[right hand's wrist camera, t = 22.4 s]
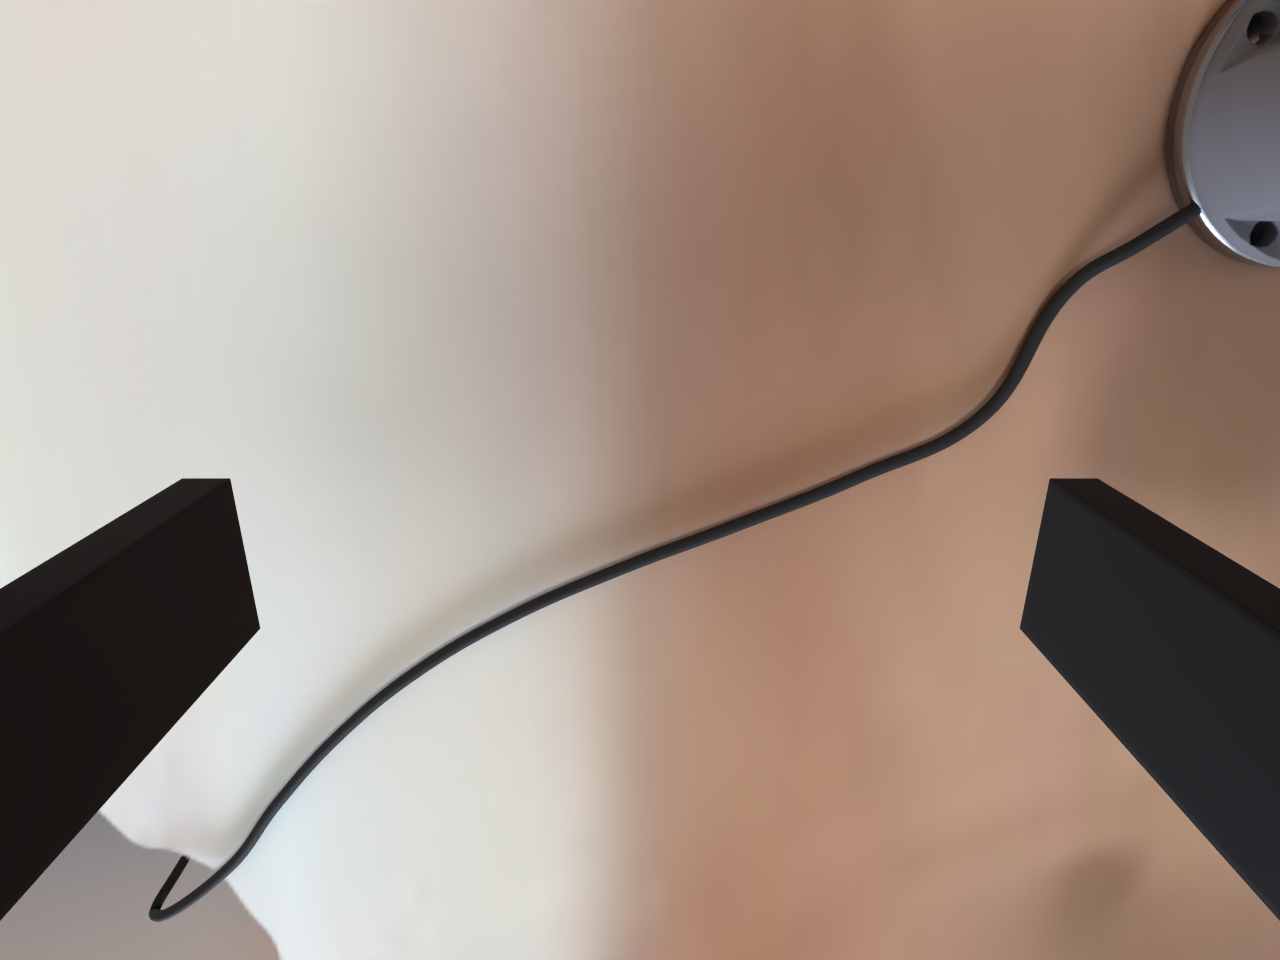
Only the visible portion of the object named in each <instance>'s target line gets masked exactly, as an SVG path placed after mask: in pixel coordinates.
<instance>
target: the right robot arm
mask: <svg viewBox="0 0 1280 960" xmlns="http://www.w3.org/2000/svg"><path fill="white" fill-rule="evenodd" d="M1166 162H1167V172H1168V177H1169V182H1170V186H1171V189H1172V192H1173V195H1174V199H1175V201H1176V203H1177V205H1178V207H1179V211H1178V212H1176V213H1174V214H1173V215H1171V216H1170V217H1168V218H1166V219H1165V220H1163V221H1162V222H1160V223H1158V224H1157V225H1155V226H1154V227H1152V228H1150V229H1149V230H1147V231H1146V232H1144V233H1142V234H1141V235H1139V236H1137V237H1136V238H1134V239H1133V240H1131V241H1129V242H1127V243H1126V244H1124V245H1122V246H1120V247H1118V248H1116V249H1114V250H1112V251H1110V252H1108V253H1106V254H1105V255H1103V256H1101V257H1099V258H1097V259H1095V260H1094V261H1092V262H1090V263H1089V264H1087V265H1086V266H1084V267H1083V268H1081V269H1080V270H1079V271H1078V272H1076V273H1075V274H1074V275H1073V276H1072V277H1071V278H1069V280H1068V281H1067V282H1066V283H1065V284H1064V285H1063V286H1062V287H1061V288H1060V289H1059V290H1058V291H1057V292H1056V293H1055V295H1054V296H1053V297H1052V298H1051V300H1050V301H1049V302H1048V303H1047V305H1046V306H1045V308H1044V309H1043V311H1042V312H1041V314H1040V315H1039V317H1038V319H1037V320H1036V322H1035V324H1034V325H1033V327H1032V329H1031V331H1030V333H1029V335H1028V337H1027V339H1026V341H1025V343H1024V345H1023V347H1022V349H1021V351H1020V353H1019V355H1018V357H1017V359H1016V361H1015V363H1014V365H1013V366H1012V368H1011V370H1010V372H1009V374H1008V375H1007V377H1006V379H1005V380H1004V382H1003V383H1002V385H1001V386H1000V388H999V389H998V390H997V392H996V393H995V394H994V395H993V396H992V398H991V399H990V400H989V401H988V402H987V403H986V404H985V405H984V406H983V407H982V408H981V409H980V410H979V411H978V412H976V413H975V414H974V415H973V416H971V417H970V418H969V419H968V420H966V421H965V422H963V423H962V424H961V425H959V426H958V427H956V428H955V429H953V430H951V431H950V432H948V433H946V434H944V435H943V436H941V437H939V438H937V439H935V440H933V441H931V442H928V443H926V444H924V445H921V446H919V447H916V448H914V449H911V450H909V451H906V452H903V453H901V454H898V455H895V456H893V457H890V458H887V459H885V460H882V461H880V462H877V463H875V464H872V465H869V466H867V467H865V468H862V469H860V470H858V471H856V472H853V473H851V474H849V475H846V476H844V477H842V478H839V479H837V480H835V481H832V482H830V483H828V484H825V485H823V486H820V487H818V488H815V489H813V490H810V491H808V492H805V493H803V494H800V495H798V496H795V497H792V498H790V499H787V500H785V501H782V502H779V503H777V504H774V505H771V506H769V507H766V508H764V509H761V510H758V511H756V512H753V513H750V514H748V515H745V516H743V517H740V518H737V519H735V520H732V521H730V522H727V523H724V524H722V525H719V526H716V527H714V528H711V529H708V530H706V531H703V532H700V533H698V534H695V535H692V536H689V537H687V538H684V539H681V540H678V541H676V542H673V543H670V544H667V545H665V546H662V547H659V548H657V549H654V550H651V551H649V552H646V553H643V554H641V555H638V556H636V557H633V558H631V559H628V560H626V561H623V562H621V563H618V564H616V565H613V566H611V567H608V568H606V569H603V570H601V571H598V572H596V573H593V574H591V575H589V576H586V577H584V578H581V579H579V580H576V581H574V582H571V583H569V584H567V585H564V586H562V587H560V588H557V589H555V590H553V591H550V592H548V593H546V594H544V595H542V596H539V597H537V598H535V599H533V600H531V601H529V602H527V603H525V604H523V605H520V606H518V607H516V608H514V609H512V610H510V611H508V612H506V613H505V614H503V615H501V616H499V617H497V618H495V619H493V620H491V621H489V622H487V623H485V624H483V625H481V626H480V627H478V628H476V629H474V630H472V631H470V632H469V633H467V634H465V635H463V636H462V637H460V638H458V639H456V640H455V641H453V642H451V643H450V644H448V645H446V646H445V647H443V648H442V649H440V650H438V651H437V652H435V653H434V654H432V655H431V656H429V657H428V658H426V659H425V660H423V661H422V662H420V663H419V664H417V665H416V666H414V667H413V668H412V669H410V670H409V671H407V672H406V673H404V674H403V675H402V676H400V677H399V678H398V679H396V680H395V681H394V682H392V683H391V684H389V685H388V686H387V687H386V688H384V689H383V690H382V691H380V692H379V693H378V694H377V695H375V696H374V697H373V698H372V699H371V700H369V701H368V702H367V703H366V704H365V705H364V706H362V707H361V708H360V709H359V710H358V711H357V712H356V713H355V714H353V715H352V716H351V717H350V718H349V719H348V720H347V721H346V722H345V723H344V724H343V725H342V726H341V727H339V728H338V729H337V730H336V731H335V732H334V733H333V734H332V735H331V736H330V737H329V738H328V739H327V740H326V741H325V742H324V743H323V744H322V745H321V746H320V747H319V748H318V749H317V750H316V751H315V752H314V753H313V754H312V756H311V757H310V758H309V759H308V760H307V761H306V762H305V763H304V764H303V766H302V767H301V768H300V769H299V770H298V771H297V772H296V774H295V775H294V776H293V777H292V778H291V780H290V781H289V782H288V783H287V784H286V786H285V787H284V788H283V789H282V790H281V792H280V793H279V794H278V795H277V796H276V798H275V799H274V800H273V801H272V803H271V804H270V805H269V807H268V808H267V809H266V811H265V812H264V813H263V815H262V816H261V818H260V819H259V821H258V822H257V824H256V825H255V827H254V828H253V830H252V832H251V833H250V835H249V836H248V838H247V839H246V841H245V842H244V844H243V845H242V846H241V847H240V849H239V850H238V851H237V852H236V854H235V855H234V856H233V857H232V858H231V859H230V860H229V861H228V862H227V863H226V864H225V865H224V866H223V867H222V868H220V869H219V870H218V871H217V872H216V873H215V874H214V875H212V876H211V877H210V878H209V879H208V880H207V881H205V882H204V883H203V884H202V885H200V886H199V887H198V888H197V889H195V890H194V891H193V892H191V893H190V894H189V895H187V896H186V897H184V898H183V899H182V900H180V901H179V902H177V903H175V904H174V905H172V906H170V907H168V908H166V909H164V910H161V907H162V905H163V903H164V901H165V899H166V898H167V896H168V894H169V893H170V891H171V890H172V888H173V886H174V885H175V883H176V882H177V880H178V879H179V877H180V875H181V874H182V872H183V870H184V869H185V867H186V865H187V864H188V862H189V860H190V859H191V858H190V857H188V856H186V855H183V854H182V856H181V858H180V859H179V861H178V863H177V864H176V866H175V867H174V869H173V871H172V872H171V874H170V875H169V877H168V878H167V880H166V882H165V883H164V885H163V886H162V888H161V889H160V891H159V892H158V894H157V896H156V897H155V899H154V901H153V903H152V905H151V908H150V911H149V917H150V919H151V920H153V921H156V922H160V921H163V920H166V919H169V918H171V917H173V916H175V915H177V914H178V913H180V912H182V911H183V910H185V909H186V908H188V907H189V906H191V905H192V904H193V903H195V902H196V901H198V900H199V899H200V898H201V897H203V896H204V895H205V894H207V893H208V892H209V891H210V890H211V889H213V888H214V887H215V886H216V885H217V884H219V883H220V882H221V881H222V880H223V879H224V878H226V877H227V876H228V875H229V874H230V873H231V872H232V871H233V870H234V869H235V868H236V867H237V866H238V865H239V864H240V863H241V862H242V861H243V860H244V859H245V857H246V856H247V855H248V854H249V852H250V851H251V849H252V848H253V847H254V845H255V844H256V842H257V841H258V839H259V838H260V836H261V835H262V833H263V832H264V830H265V828H266V827H267V825H268V824H269V823H270V821H271V820H272V818H273V817H274V816H275V814H276V813H277V812H278V810H279V809H280V808H281V807H282V805H283V804H284V803H285V802H286V801H287V799H288V798H289V797H290V796H291V795H292V793H293V792H294V791H295V790H296V789H297V788H298V786H299V785H300V784H301V783H302V782H303V780H304V779H305V778H306V777H307V776H308V775H309V774H310V772H311V771H312V770H313V769H314V768H315V767H316V766H317V765H318V764H319V763H320V762H321V761H322V759H323V758H324V757H325V756H326V755H327V754H328V753H329V752H330V751H331V750H332V749H333V748H334V747H335V746H336V745H337V744H338V743H340V742H341V741H342V740H343V739H344V738H345V737H346V736H347V735H348V734H349V733H350V732H351V731H352V730H353V729H354V728H356V727H357V726H358V725H359V724H360V723H361V722H362V721H363V720H364V719H366V718H367V717H368V716H369V715H370V714H371V713H372V712H374V711H375V710H376V709H377V708H378V707H380V706H381V705H382V704H383V703H385V702H386V701H387V700H388V699H390V698H391V697H392V696H394V695H395V694H396V693H398V692H399V691H400V690H402V689H403V688H404V687H406V686H407V685H409V684H410V683H411V682H413V681H414V680H416V679H417V678H419V677H420V676H421V675H423V674H424V673H426V672H427V671H429V670H430V669H432V668H433V667H435V666H436V665H438V664H439V663H441V662H442V661H444V660H446V659H447V658H449V657H450V656H452V655H454V654H455V653H457V652H459V651H460V650H462V649H464V648H466V647H467V646H469V645H471V644H473V643H475V642H476V641H478V640H480V639H482V638H484V637H486V636H487V635H489V634H491V633H493V632H495V631H497V630H499V629H501V628H503V627H505V626H507V625H509V624H511V623H513V622H515V621H517V620H519V619H521V618H523V617H525V616H527V615H529V614H531V613H533V612H535V611H537V610H539V609H542V608H544V607H546V606H548V605H550V604H553V603H555V602H557V601H559V600H562V599H564V598H566V597H569V596H571V595H574V594H576V593H578V592H581V591H583V590H586V589H588V588H591V587H593V586H596V585H598V584H601V583H603V582H606V581H608V580H611V579H613V578H615V577H618V576H620V575H623V574H625V573H628V572H630V571H633V570H635V569H638V568H641V567H643V566H646V565H648V564H651V563H654V562H656V561H659V560H662V559H664V558H667V557H670V556H673V555H675V554H678V553H681V552H684V551H686V550H689V549H692V548H695V547H697V546H700V545H703V544H706V543H708V542H711V541H714V540H717V539H719V538H722V537H725V536H727V535H730V534H732V533H735V532H738V531H740V530H743V529H746V528H748V527H751V526H753V525H756V524H759V523H761V522H764V521H767V520H769V519H772V518H775V517H777V516H780V515H783V514H785V513H788V512H791V511H793V510H796V509H798V508H801V507H804V506H806V505H809V504H811V503H814V502H816V501H819V500H821V499H824V498H826V497H829V496H831V495H834V494H836V493H839V492H841V491H843V490H846V489H848V488H850V487H853V486H855V485H857V484H859V483H862V482H864V481H866V480H869V479H871V478H873V477H876V476H878V475H881V474H884V473H886V472H889V471H891V470H894V469H897V468H899V467H902V466H905V465H908V464H910V463H913V462H916V461H918V460H921V459H923V458H926V457H928V456H930V455H933V454H935V453H937V452H939V451H941V450H943V449H946V448H947V447H949V446H951V445H953V444H955V443H957V442H958V441H960V440H961V439H963V438H965V437H966V436H968V435H969V434H970V433H972V432H973V431H975V430H976V429H977V428H979V427H980V426H981V425H982V424H984V423H985V422H986V421H987V420H988V419H989V418H990V417H992V416H993V415H994V414H995V413H996V412H997V411H998V410H999V409H1000V408H1001V406H1002V405H1003V404H1004V403H1005V402H1006V401H1007V400H1008V398H1009V397H1010V395H1011V394H1012V393H1013V391H1014V390H1015V388H1016V387H1017V385H1018V384H1019V382H1020V380H1021V379H1022V377H1023V375H1024V373H1025V372H1026V370H1027V368H1028V366H1029V364H1030V362H1031V360H1032V358H1033V356H1034V354H1035V352H1036V350H1037V348H1038V346H1039V344H1040V342H1041V340H1042V338H1043V337H1044V335H1045V333H1046V331H1047V329H1048V328H1049V326H1050V324H1051V323H1052V321H1053V319H1054V318H1055V316H1056V315H1057V314H1058V312H1059V311H1060V309H1061V308H1062V307H1063V306H1064V304H1065V303H1066V302H1067V301H1068V300H1069V298H1070V297H1071V296H1072V295H1073V294H1074V293H1075V292H1076V291H1077V290H1078V289H1079V288H1080V287H1081V286H1082V285H1084V284H1085V283H1086V282H1087V281H1089V280H1090V279H1091V278H1093V277H1094V276H1096V275H1097V274H1099V273H1101V272H1102V271H1104V270H1106V269H1108V268H1110V267H1112V266H1114V265H1116V264H1118V263H1120V262H1122V261H1124V260H1126V259H1127V258H1129V257H1131V256H1133V255H1135V254H1137V253H1138V252H1140V251H1142V250H1143V249H1145V248H1147V247H1148V246H1150V245H1152V244H1153V243H1155V242H1156V241H1158V240H1160V239H1161V238H1163V237H1165V236H1166V235H1168V234H1169V233H1171V232H1173V231H1174V230H1176V229H1178V228H1179V227H1181V226H1182V225H1184V224H1186V223H1188V224H1189V226H1190V227H1191V228H1192V229H1193V231H1194V232H1195V233H1196V234H1197V235H1198V236H1199V237H1200V238H1201V239H1202V240H1203V241H1204V242H1206V243H1207V244H1208V245H1209V246H1211V247H1212V248H1213V249H1215V250H1217V251H1218V252H1220V253H1222V254H1224V255H1225V256H1228V257H1230V258H1232V259H1235V260H1237V261H1241V262H1244V263H1248V264H1252V265H1258V266H1265V267H1274V268H1280V0H1229V1H1228V2H1227V3H1226V4H1225V5H1224V6H1223V8H1222V9H1221V10H1220V11H1219V12H1218V14H1217V15H1216V16H1215V17H1214V19H1213V20H1212V21H1211V23H1210V24H1209V25H1208V27H1207V28H1206V30H1205V31H1204V33H1203V34H1202V36H1201V38H1200V39H1199V41H1198V42H1197V44H1196V46H1195V48H1194V49H1193V51H1192V53H1191V55H1190V57H1189V59H1188V61H1187V63H1186V65H1185V67H1184V70H1183V72H1182V74H1181V76H1180V79H1179V82H1178V85H1177V88H1176V90H1175V93H1174V97H1173V101H1172V105H1171V108H1170V113H1169V119H1168V125H1167V135H1166ZM259 629H260V625H259V620H258V615H257V610H256V605H255V600H254V595H253V590H252V585H251V580H250V575H249V570H248V565H247V560H246V555H245V550H244V545H243V540H242V535H241V530H240V525H239V520H238V515H237V510H236V505H235V500H234V495H233V490H232V485H231V480H230V479H181V480H179V481H178V482H176V483H174V484H173V485H171V486H169V487H168V488H166V489H164V490H163V491H161V492H159V493H158V494H156V495H154V496H153V497H151V498H149V499H148V500H146V501H145V502H143V503H141V504H140V505H138V506H136V507H135V508H133V509H131V510H130V511H128V512H126V513H125V514H123V515H121V516H120V517H118V518H116V519H115V520H113V521H112V522H110V523H108V524H107V525H105V526H103V527H102V528H100V529H98V530H97V531H95V532H93V533H92V534H90V535H88V536H87V537H85V538H83V539H82V540H80V541H78V542H77V543H75V544H74V545H72V546H70V547H69V548H67V549H65V550H64V551H62V552H60V553H59V554H57V555H55V556H54V557H52V558H50V559H49V560H47V561H45V562H44V563H42V564H41V565H39V566H37V567H36V568H34V569H32V570H31V571H29V572H27V573H26V574H24V575H22V576H21V577H19V578H17V579H16V580H14V581H12V582H11V583H9V584H8V585H6V586H4V587H3V588H1V589H0V920H1V919H2V918H3V917H4V916H5V915H6V914H7V912H8V911H9V910H10V909H11V908H12V907H13V906H14V905H15V903H16V902H17V901H18V900H19V899H20V898H21V897H22V896H23V894H24V893H25V892H26V891H27V890H28V889H29V888H30V887H31V886H32V884H33V883H34V882H35V881H36V880H37V879H38V878H39V876H40V875H41V874H42V873H43V872H44V871H45V870H46V869H47V868H48V866H49V865H50V864H51V863H52V862H53V861H54V860H55V859H56V857H57V856H58V855H59V854H60V853H61V852H62V851H63V850H64V848H65V847H66V846H67V845H68V844H69V843H70V842H71V840H72V839H73V838H74V837H75V836H76V835H77V834H78V833H79V831H80V830H81V829H82V828H83V827H84V826H85V825H86V824H87V823H88V821H89V820H90V819H91V818H92V817H93V816H94V815H95V814H96V812H97V811H98V810H99V809H100V808H101V807H102V806H103V805H104V803H105V802H106V801H107V800H108V799H109V798H110V797H111V796H112V794H113V793H114V792H115V791H116V790H117V789H118V788H119V787H120V785H121V784H122V783H123V782H124V781H125V780H126V779H127V778H128V776H129V775H130V774H131V773H132V772H133V771H134V770H135V769H136V767H137V766H138V765H139V764H140V763H141V762H142V761H143V760H144V758H145V757H146V756H147V755H148V754H149V753H150V752H151V751H152V749H153V748H154V747H155V746H156V745H157V744H158V743H159V742H160V740H161V739H162V738H163V737H164V736H165V735H166V734H167V733H168V731H169V730H170V729H171V728H172V727H173V726H174V725H175V724H176V722H177V721H178V720H179V719H180V718H181V717H182V716H183V715H184V713H185V712H186V711H187V710H188V709H189V708H190V707H191V706H192V704H193V703H194V702H195V701H196V700H197V699H198V698H199V697H200V695H201V694H202V693H203V692H204V691H205V690H206V689H207V688H208V686H209V685H210V684H211V683H212V682H213V681H214V680H215V679H216V677H217V676H218V675H219V674H220V673H221V672H222V671H223V670H224V668H225V667H226V666H227V665H228V664H229V663H230V662H231V661H232V659H233V658H234V657H235V656H236V655H237V654H238V653H239V652H240V650H241V649H242V648H243V647H244V646H245V645H246V644H247V643H248V641H249V640H250V639H251V638H252V637H253V636H254V635H255V634H256V632H257V631H258V630H259ZM1020 629H1021V630H1022V631H1023V632H1024V634H1025V635H1026V636H1027V637H1028V638H1029V639H1030V640H1031V641H1032V643H1033V644H1034V645H1035V646H1036V647H1037V648H1038V649H1039V650H1040V652H1041V653H1042V654H1043V655H1044V656H1045V657H1046V658H1047V659H1048V661H1049V662H1050V663H1051V664H1052V665H1053V666H1054V667H1055V668H1056V670H1057V671H1058V672H1059V673H1060V674H1061V675H1062V676H1063V677H1064V679H1065V680H1066V681H1067V682H1068V683H1069V684H1070V685H1071V686H1072V688H1073V689H1074V690H1075V691H1076V692H1077V693H1078V694H1079V695H1080V697H1081V698H1082V699H1083V700H1084V701H1085V702H1086V703H1087V704H1088V706H1089V707H1090V708H1091V709H1092V710H1093V711H1094V712H1095V713H1096V715H1097V716H1098V717H1099V718H1100V719H1101V720H1102V721H1103V722H1104V724H1105V725H1106V726H1107V727H1108V728H1109V729H1110V730H1111V731H1112V733H1113V734H1114V735H1115V736H1116V737H1117V738H1118V739H1119V740H1120V742H1121V743H1122V744H1123V745H1124V746H1125V747H1126V748H1127V749H1128V751H1129V752H1130V753H1131V754H1132V755H1133V756H1134V757H1135V758H1136V760H1137V761H1138V762H1139V763H1140V764H1141V765H1142V766H1143V767H1144V769H1145V770H1146V771H1147V772H1148V773H1149V774H1150V775H1151V776H1152V778H1153V779H1154V780H1155V781H1156V782H1157V783H1158V784H1159V785H1160V787H1161V788H1162V789H1163V790H1164V791H1165V792H1166V793H1167V794H1168V796H1169V797H1170V798H1171V799H1172V800H1173V801H1174V802H1175V803H1176V805H1177V806H1178V807H1179V808H1180V809H1181V810H1182V811H1183V812H1184V814H1185V815H1186V816H1187V817H1188V818H1189V819H1190V820H1191V821H1192V823H1193V824H1194V825H1195V826H1196V827H1197V828H1198V829H1199V830H1200V832H1201V833H1202V834H1203V835H1204V836H1205V837H1206V838H1207V839H1208V841H1209V842H1210V843H1211V844H1212V845H1213V846H1214V847H1215V848H1216V850H1217V851H1218V852H1219V853H1220V854H1221V855H1222V856H1223V857H1224V859H1225V860H1226V861H1227V862H1228V863H1229V864H1230V865H1231V866H1232V868H1233V869H1234V870H1235V871H1236V872H1237V873H1238V874H1239V875H1240V877H1241V878H1242V879H1243V880H1244V881H1245V882H1246V883H1247V884H1248V886H1249V887H1250V888H1251V889H1252V890H1253V891H1254V892H1255V893H1256V895H1257V896H1258V897H1259V898H1260V899H1261V900H1262V901H1263V902H1264V904H1265V905H1266V906H1267V907H1268V908H1269V909H1270V910H1271V911H1272V913H1273V914H1274V915H1275V916H1276V917H1277V918H1278V919H1279V920H1280V589H1279V588H1277V587H1276V586H1274V585H1272V584H1271V583H1269V582H1268V581H1266V580H1264V579H1263V578H1261V577H1259V576H1258V575H1256V574H1254V573H1253V572H1251V571H1249V570H1248V569H1246V568H1244V567H1243V566H1241V565H1239V564H1238V563H1236V562H1235V561H1233V560H1231V559H1230V558H1228V557H1226V556H1225V555H1223V554H1221V553H1220V552H1218V551H1216V550H1215V549H1213V548H1211V547H1210V546H1208V545H1206V544H1205V543H1203V542H1202V541H1200V540H1198V539H1197V538H1195V537H1193V536H1192V535H1190V534H1188V533H1187V532H1185V531H1183V530H1182V529H1180V528H1178V527H1177V526H1175V525H1173V524H1172V523H1170V522H1168V521H1167V520H1165V519H1164V518H1162V517H1160V516H1159V515H1157V514H1155V513H1154V512H1152V511H1150V510H1149V509H1147V508H1145V507H1144V506H1142V505H1140V504H1139V503H1137V502H1135V501H1134V500H1132V499H1131V498H1129V497H1127V496H1126V495H1124V494H1122V493H1121V492H1119V491H1117V490H1116V489H1114V488H1112V487H1111V486H1109V485H1107V484H1106V483H1104V482H1102V481H1101V480H1099V479H1050V480H1049V485H1048V490H1047V495H1046V500H1045V505H1044V510H1043V515H1042V520H1041V525H1040V530H1039V535H1038V540H1037V545H1036V550H1035V555H1034V560H1033V565H1032V570H1031V575H1030V580H1029V585H1028V590H1027V595H1026V600H1025V605H1024V610H1023V615H1022V620H1021V625H1020Z"/></svg>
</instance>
